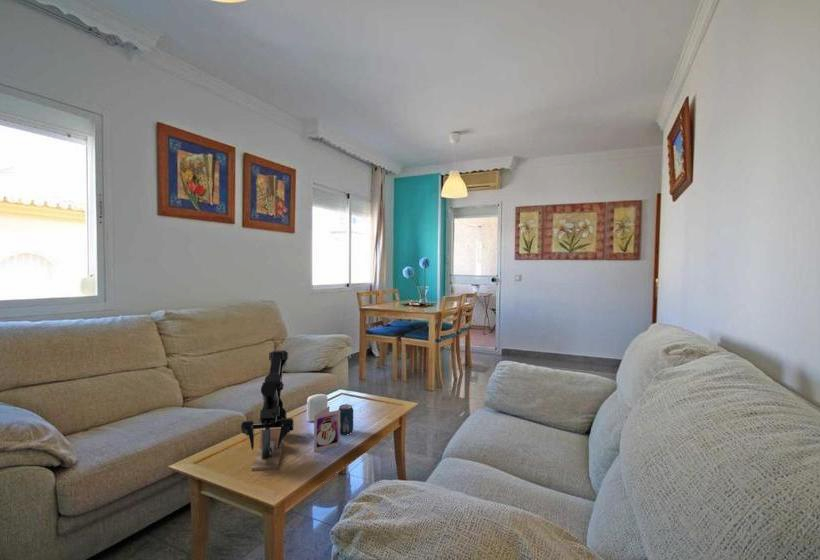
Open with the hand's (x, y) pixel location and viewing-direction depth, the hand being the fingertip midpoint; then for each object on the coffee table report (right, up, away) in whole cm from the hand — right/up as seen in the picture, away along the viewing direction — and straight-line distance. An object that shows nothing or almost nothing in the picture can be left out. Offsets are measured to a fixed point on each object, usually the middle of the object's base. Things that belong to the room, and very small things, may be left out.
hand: (265, 448), depth 140 cm
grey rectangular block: (-2, -6, +8) cm, 10 cm away
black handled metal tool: (-2, -5, +8) cm, 10 cm away
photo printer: (+8, -7, +47) cm, 48 cm away
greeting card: (+18, -7, +18) cm, 27 cm away
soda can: (+24, -7, +32) cm, 41 cm away
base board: (-2, -7, +8) cm, 11 cm away
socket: (-3, -6, +15) cm, 17 cm away
